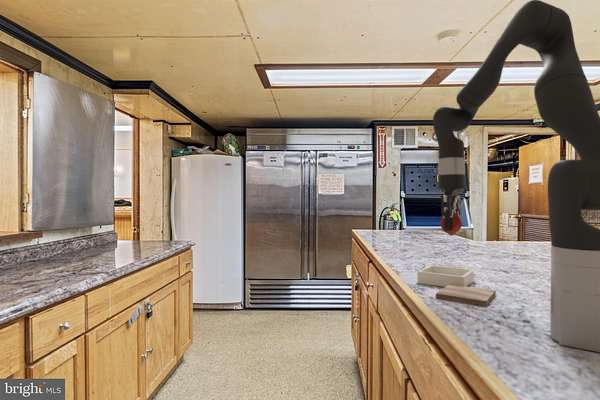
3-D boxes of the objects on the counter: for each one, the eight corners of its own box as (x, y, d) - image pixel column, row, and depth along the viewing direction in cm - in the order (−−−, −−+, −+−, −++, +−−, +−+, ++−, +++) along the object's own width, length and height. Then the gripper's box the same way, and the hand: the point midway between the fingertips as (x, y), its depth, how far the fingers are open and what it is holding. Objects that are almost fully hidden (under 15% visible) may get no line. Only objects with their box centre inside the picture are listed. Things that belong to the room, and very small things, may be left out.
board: (486, 306, 90) (486, 301, 90) (435, 298, 97) (435, 293, 97) (495, 294, 101) (495, 290, 101) (449, 288, 108) (449, 284, 108)
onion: (439, 235, 110) (439, 208, 110) (441, 234, 115) (441, 208, 115) (460, 236, 107) (460, 208, 107) (462, 235, 112) (462, 208, 112)
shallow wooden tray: (463, 289, 107) (464, 277, 107) (417, 282, 114) (417, 271, 114) (473, 281, 117) (474, 269, 117) (430, 275, 125) (430, 265, 125)
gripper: (458, 171, 103) (458, 232, 103) (470, 175, 115) (470, 229, 115) (431, 172, 108) (431, 231, 107) (444, 176, 119) (444, 228, 119)
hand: (451, 230), depth 111 cm, fingers closed on onion, 6 cm apart
